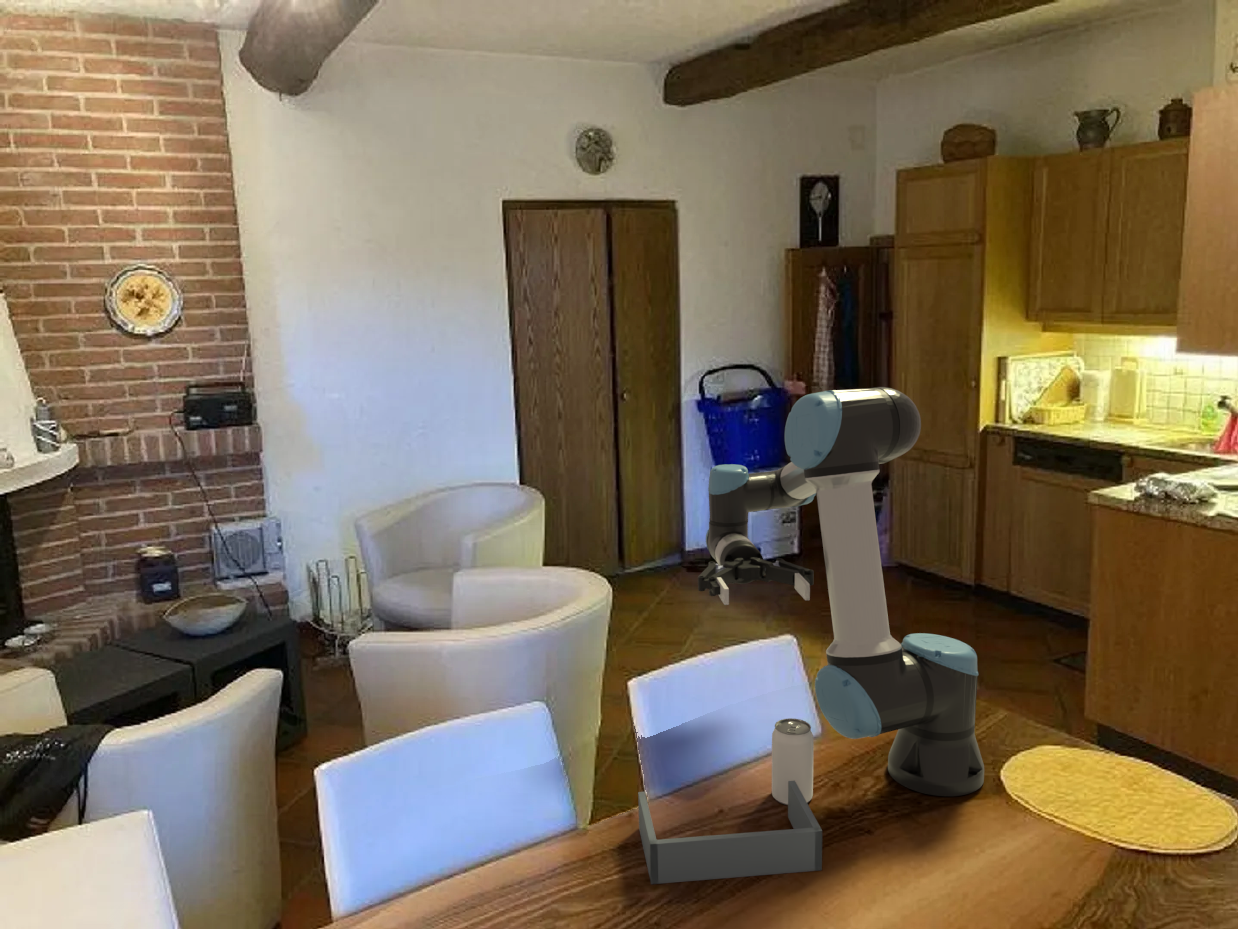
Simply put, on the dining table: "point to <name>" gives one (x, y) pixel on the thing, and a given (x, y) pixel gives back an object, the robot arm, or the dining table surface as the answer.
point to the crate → (734, 848)
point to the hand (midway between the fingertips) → (767, 594)
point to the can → (792, 758)
